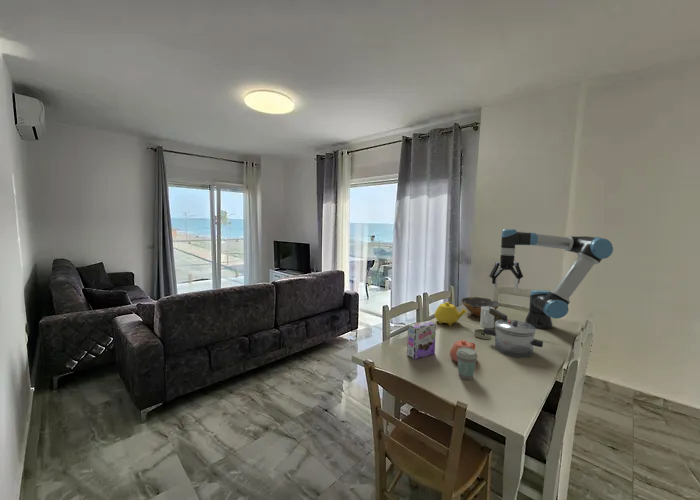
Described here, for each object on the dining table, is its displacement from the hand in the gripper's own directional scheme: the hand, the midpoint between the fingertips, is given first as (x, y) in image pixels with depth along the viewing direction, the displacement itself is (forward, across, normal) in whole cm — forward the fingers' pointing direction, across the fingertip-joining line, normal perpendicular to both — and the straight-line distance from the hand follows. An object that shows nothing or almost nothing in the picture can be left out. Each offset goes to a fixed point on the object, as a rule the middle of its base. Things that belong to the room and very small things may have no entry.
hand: (505, 289), depth 185 cm
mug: (+27, +7, -8) cm, 29 cm away
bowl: (+27, -1, -30) cm, 41 cm away
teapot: (+27, +27, -16) cm, 41 cm away
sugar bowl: (+27, +42, +36) cm, 61 cm away
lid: (+14, +10, +19) cm, 26 cm away
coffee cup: (+27, +48, +51) cm, 75 cm away
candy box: (+27, +61, +28) cm, 73 cm away
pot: (+27, +10, +26) cm, 39 cm away
